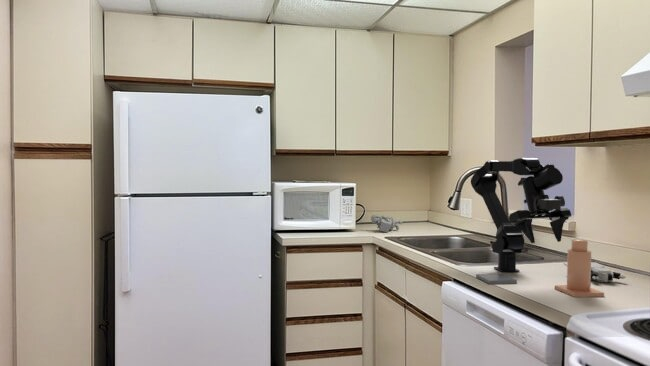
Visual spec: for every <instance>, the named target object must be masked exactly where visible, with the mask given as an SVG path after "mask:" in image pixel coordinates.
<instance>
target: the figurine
mask: <svg viewBox="0 0 650 366" xmlns="http://www.w3.org/2000/svg"><path fill="white" fill-rule="evenodd" d="M370 220H371V224H374V225H375V224H376V226H377V227H376V228H377V229H378V231H380V232H384V233H387V234H389V232H392V231H393V230H394V228H395V229H396V231H399V230H400V227H399V224H400V225H402V224H403V221H402V220H397V219H395V218H394V217H393V216H392V217H389V216H385V215H377V214H372V215H371V218H370Z"/></svg>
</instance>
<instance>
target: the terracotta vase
mask: <svg viewBox="0 0 650 366" xmlns="http://www.w3.org/2000/svg"><path fill="white" fill-rule="evenodd" d="M588 243H589V242H588V240H587V239H578V238H577V239H576V238H575V239H574V238H573V239H571V248H568V249H567V260H566V261H567V262H566V263H567V264H566V265H567V266H566V285H567V288H568V289H570V290H574V291H583V292H586V291H590V288H591V281H592V279H591V262H592V251H591V250H589V249H588Z"/></svg>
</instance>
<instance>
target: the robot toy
mask: <svg viewBox="0 0 650 366" xmlns="http://www.w3.org/2000/svg"><path fill="white" fill-rule="evenodd" d="M563 265H564V266H566V267H567V264H566V263H565V262H563ZM614 279H616V280H620V279H622V280H624V279H626V275H621V273H620V272H616V271H612V270H611V269H608V268H606V267H605V266H604V265H603V264H600V263H598V262H593V261H591V280H593V281H596V282H597V283H608V282H613V281H614Z"/></svg>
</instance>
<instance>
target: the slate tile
mask: <svg viewBox="0 0 650 366" xmlns="http://www.w3.org/2000/svg"><path fill="white" fill-rule="evenodd" d="M476 278H477V279H479V280H481V281H483V282H485V283H486V284H488V285H497V284H498V285H501V284H502V285H503V284H504V285H505V284H506V285H507V284H518V280H517V279H515V278H512V277H511V276H508V275H506V274H504V273H476Z"/></svg>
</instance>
